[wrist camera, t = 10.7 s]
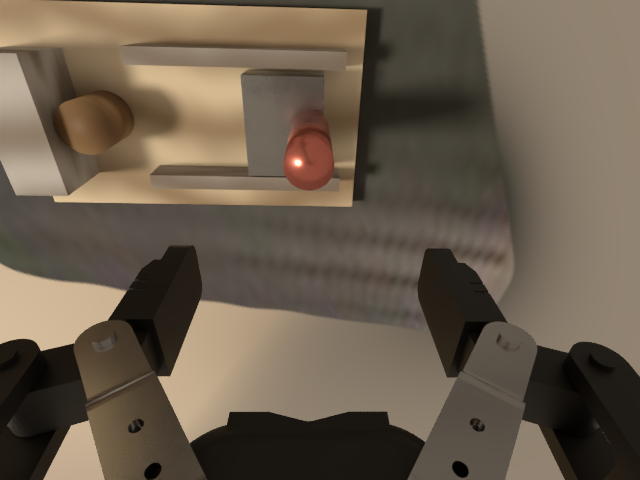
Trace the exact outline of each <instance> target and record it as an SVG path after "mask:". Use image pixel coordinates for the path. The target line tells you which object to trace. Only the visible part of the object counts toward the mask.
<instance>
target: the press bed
mask: <svg viewBox="0 0 640 480" xmlns="http://www.w3.org/2000/svg"><path fill="white" fill-rule="evenodd" d="M366 19H367V10H355V9H321V8H287V7H254V6H220V5H186V4H152V3H118V2H85V1H51V0H0V160H1V162H2V165H3V167H4V169H5V171H6V174H7V176H8V178H9V180H10V183H11V185H12V187H13V189H14V191H15V194H16V195H43V196H53V198H54V200H55V202H96V203H159V204H222V205H286V206H349V207H352V198H353V185H354V172H355V160H356V147H357V134H358V121H359V108H360V96H361V83H362V70H363V57H364V44H365V32H366ZM246 70H277V71H316V72H324V112H323V116H324V117H325V118H326V120H327V121H328V124H329V129H330V136H331V144H332V151H333V158H334V173H333V175H332V178H331V179H330V181H329V182H328V183H327V184H326V185H325V186H323V187H321V188H319V189H316V190H309V191H308V190H302V189H299V188H297V187H295V186H293V185H292V184H291V183H290V182H289V181H288V179H287V178H286V176H249V173H248V161H247V149H246V137H245V124H244V112H243V100H242V88H241V74H242V73H244V72H245V71H246ZM101 90H103V91H109V92H112V93H114V94H116V95H118V96H119V97H121V98H122V99H123V100H124V101H125V102H126V103H127V104H128V106H129V107H130V109H131V111H132V114H133V117H134V127H133V130H132V132H131V133H130V135H129V136H127V137H126V138H124V139H123V140H121V141H120V142H118V143H117V144H115V145H114V146H112V147H110V148H109V149H107V150H106V151H104V152H103V153H100V154H97V155H87V154H83V153H80V152H77V151H75V150H74V149H72V148H71V147H69V146H68V145H67V144H66V143H65V142H64V141H63V140H62V139H61V137H60V136H59V134H58V132H57V130H56V127H55V123H54V115H55V111H56V109H57V108H58V107H59V106H60V105H61V104H62V103H64V102H66V101H69V100H72V99H75V98H78V97H81V96H83V95H86V94H89V93H92V92H95V91H101Z"/></svg>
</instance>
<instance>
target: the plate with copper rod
mask: <svg viewBox="0 0 640 480" xmlns="http://www.w3.org/2000/svg"><path fill="white" fill-rule="evenodd" d="M241 88H242V100H243V112H244V124H245V137H246V149H247V161H248V173H249V176H286V178H287V179H288V181H289V182H290V183H291V184H292V185H293V186H295V187H297V188H299V189H302V190H308V191H309V190H316V189H319V188H321V187H323V186H325V185H326V184H327V183H328V182H329V181H330V179H331V178H332V175H333V173H334V158H333V151H332V144H331V136H330V129H329V124H328V121H327V120H326V118H325V117H324V116H323V112H324V72H316V71H277V70H246V71H245V72H244V73H242V74H241Z"/></svg>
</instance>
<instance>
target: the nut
mask: <svg viewBox="0 0 640 480" xmlns="http://www.w3.org/2000/svg"><path fill="white" fill-rule="evenodd" d="M54 123H55V127H56V130H57V132H58V134H59V136H60V137H61V139H62V140H63V141H64V142H65V143H66V144H67V145H68V146H69V147H71V148H72V149H74V150H75V151H77V152H80V153H83V154H87V155H97V154H100V153H103V152H104V151H106V150H107V149H109V148H110V147H112V146H114V145H115V144H117V143H118V142H120V141H121V140H123V139H124V138H126V137H127V136H129V135H130V133H131V132H132V130H133V127H134V117H133V114H132V111H131V109H130V107H129V106H128V104H127V103H126V102H125V101H124V100H123V99H122V98H121V97H119V96H118V95H116V94H114V93H112V92H109V91H103V90H101V91H95V92H92V93H89V94H86V95H83V96H81V97H78V98H75V99H72V100H69V101H66V102H64V103H62V104H61V105H60V106H59V107H58V108H57V109H56V111H55V115H54Z"/></svg>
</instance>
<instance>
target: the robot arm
mask: <svg viewBox="0 0 640 480" xmlns="http://www.w3.org/2000/svg"><path fill="white" fill-rule="evenodd" d="M201 293H202V281H201V275H200V270H199V265H198V259H197V254H196V250H195V247H194V246H190V245H171V246H169V247H168V249H167V251H166V252H165V254H164V256H163V257H162V259H161V260H153V261H152V262H150V263H149V264H148V265H146V266H145V267H144V268H142V269H141V271H140V272H139V274H138V275H137V277H136V278H135V281H133V283H132V284H131V286H130V288H129V290H128V291H127V292H126V294H125V295H124V297H123V298H122V300H121V301H120V303H119V304H118V306H117V307H116V309H115V310H114V312H113V314H112V315H111V316H110V318H109V319H108V321H104V322H101V323H98V324H96V325H93V326H91V327H90V328H88V329H87V330H85V331H84V332H83V333H82V334H81V335H80V336H79V337H78V338H77V340H76V341H75V343H74V344H70V345H66V346H61V347H57V348H53V349H48V350H45V351H41V350H40V348H39V347H38V345H37V343H36V342H34V341H32V340H29V339H17V340H12V341H8V342H5V343H2V344H0V480H43V479H44V477H45V475H46V473H47V471H48V469H49V467H50V465H51V463H52V461H53V459H54V457H55V455H56V454H57V451H58V450H59V447H60V446H61V444H62V442H63V440H64V438H65V436H66V434H67V432H68V430H69V428H70V426H71V425H74V424H77V423H81V422H84V421H88V420H89V422H90V426H91V430H92V433H93V437H94V440H95V445H96V448H97V452H98V456H99V460H100V463H101V467H102V471H103V474H104V478H105V480H505V478H506V474H507V470H508V467H509V463H510V460H511V456H512V453H513V449H514V445H515V442H516V438H517V435H518V431H519V427H520V424H521V420H525V421H528V422H532V423H535V424H538V425H539V427H540V429H541V431H542V433H543V435H544V437H545V439H546V441H547V444H548V445H549V448H550V450H551V452H552V454H553V456H554V458H555V460H556V462H557V464H558V466H559V468H560V470H561V473H562V475H563V477H564V479H565V480H640V377H639V375H638V374H637V373H636V372H635V371H634V369H633V368H632V367H631V366H630V364H629V363H628V362H627V361H626V360H625V359H624V358H623V357H622V356H620V355H619V354H617V353H616V352H614V351H613V350H611V349H609V348H607V347H605V346H602V345H599V344H596V343H592V342H579V343H576V344H574V345H573V346H572V348H571V350H570V352H569V353H566V352H562V351H558V350H553V349H550V348H545V347H542V346H538V345H536V342H535V341H534V339H533V338H532V337H531V335H529V334H528V333H527V332H526V331H524V330H523V329H521V328H520V327H517V326H516V325H513V324H510V323H508V322H507V321H506V319H505V318H504V316H503V314H502V313H501V311H500V310H499V309H498V306H497V305H496V303H495V302H494V300H493V298H492V297H491V295H490V294H489V293H488V290H487V289H486V287H485V285H483V282H482V281H481V279H480V277H479V276H478V274H477V273H476V272H475V271H474V270H473V269H472V268H470V267H469V266H468V265H466V264H465V263H458V262H457V260H456V258H455V257H454V255H453V253H452V252H451V250H450V249H429V248H428V249H426V251H425V254H424V258H423V263H422V268H421V272H420V277H419V282H418V298H419V302H420V304H421V307H422V310H423V313H424V315H425V318H426V321H427V324H428V326H429V329H430V332H431V335H432V337H433V340H434V342H435V345H436V348H437V351H438V354H439V356H440V359H441V362H442V365H443V367H444V370H445V373H446V376H447V377H457V379H456V381H455V383H454V385H453V388H452V390H451V392H450V394H449V396H448V398H447V400H446V402H445V404H444V406H443V408H442V410H441V412H440V414H439V416H438V418H437V420H436V422H435V424H434V427H433V428H432V431H431V432H430V434H429V437H428V439H427V441H426V443H425V442H424V441H423V440H421V439H420V438H418V437H417V436H415V435H414V434H411V433H410V432H408V431H406V430H404V429H402V428H399V427H396V426H392V425H389V420H388V414H387V412H346V413H342V414H338V415H334V416H330V417H327V418H323V419H319V420H315V421H309V422H308V421H302V420H298V419H295V418H290V417H286V416H282V415H278V414H275V413H271V412H230V413H229V418H228V423H227V425H225V426H222V427H219V428H216V429H214V430H211V431H209V432H207V433H205V434H203V435H201V436H200V437H198V438H197V439H195V440H194V441H192V442H191V443H189V441H188V439H187V437H186V435H185V433H184V431H183V429H182V427H181V425H180V423H179V421H178V418H177V416H176V414H175V412H174V410H173V408H172V406H171V404H170V402H169V400H168V398H167V396H166V394H165V392H164V389H163V387H162V385H161V383H160V382H159V379H158V377H157V376H170V375H171V373H172V370H173V368H174V365H175V362H176V360H177V357H178V355H179V352H180V349H181V347H182V344H183V342H184V339H185V337H186V334H187V331H188V329H189V326H190V324H191V321H192V319H193V316H194V313H195V311H196V308H197V306H198V303H199V301H200V298H201ZM600 428H601V429H600ZM605 436H606V437H605ZM610 444H611V445H610Z"/></svg>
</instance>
